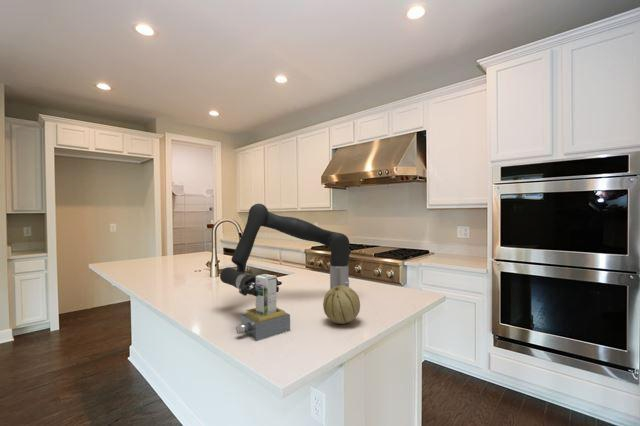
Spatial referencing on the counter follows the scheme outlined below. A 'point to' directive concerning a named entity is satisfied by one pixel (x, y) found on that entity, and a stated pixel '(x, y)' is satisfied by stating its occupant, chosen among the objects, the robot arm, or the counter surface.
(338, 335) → the counter surface
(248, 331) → the tray
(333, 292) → the cantaloupe
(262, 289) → the syrup box
